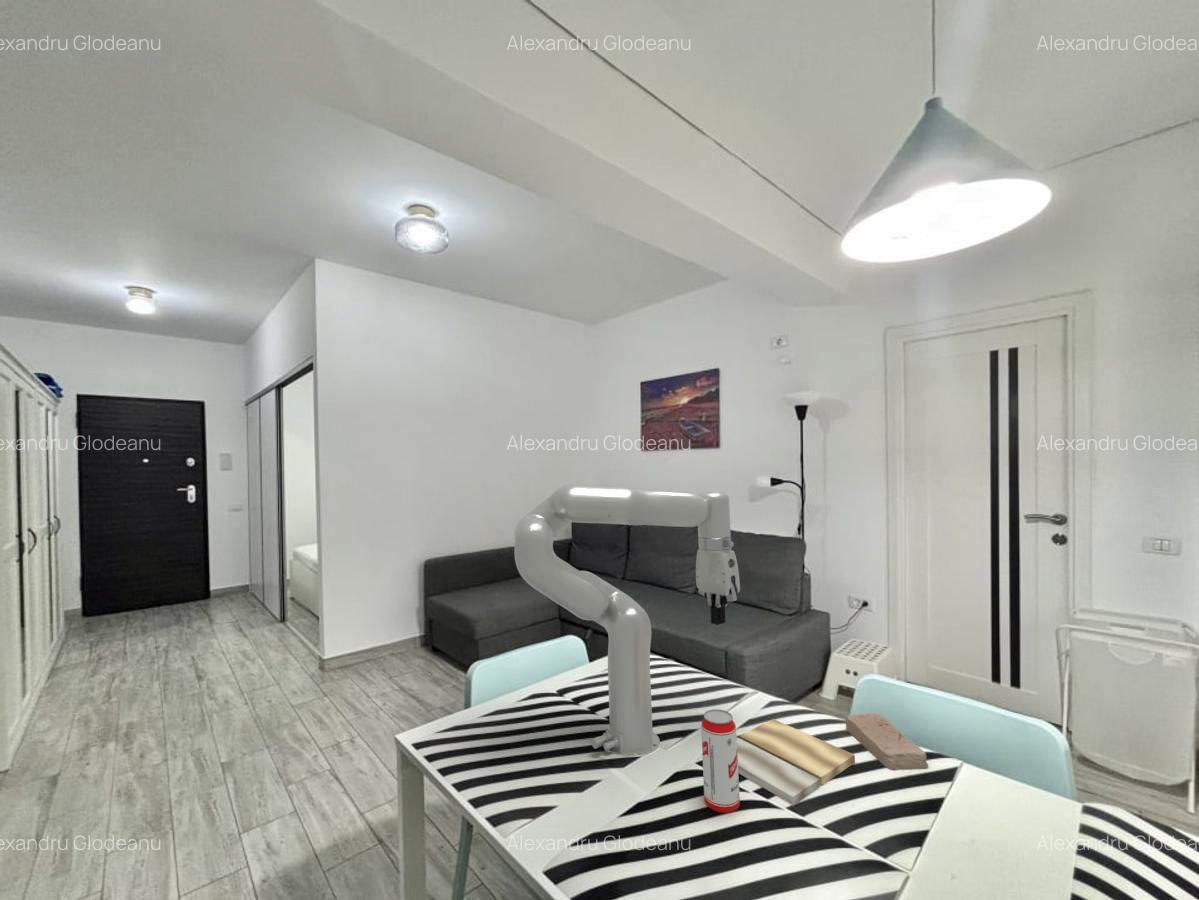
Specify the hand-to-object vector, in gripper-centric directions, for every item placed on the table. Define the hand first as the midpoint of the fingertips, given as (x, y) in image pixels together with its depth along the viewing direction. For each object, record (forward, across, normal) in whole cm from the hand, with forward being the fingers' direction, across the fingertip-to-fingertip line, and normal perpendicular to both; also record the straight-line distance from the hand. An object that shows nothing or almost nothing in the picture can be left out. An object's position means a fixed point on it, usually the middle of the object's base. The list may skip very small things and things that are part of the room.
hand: (718, 622), depth 115 cm
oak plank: (+24, -16, -4) cm, 29 cm away
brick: (+26, -26, -21) cm, 42 cm away
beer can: (+25, -17, +20) cm, 36 cm away
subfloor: (+25, -16, 0) cm, 30 cm away
